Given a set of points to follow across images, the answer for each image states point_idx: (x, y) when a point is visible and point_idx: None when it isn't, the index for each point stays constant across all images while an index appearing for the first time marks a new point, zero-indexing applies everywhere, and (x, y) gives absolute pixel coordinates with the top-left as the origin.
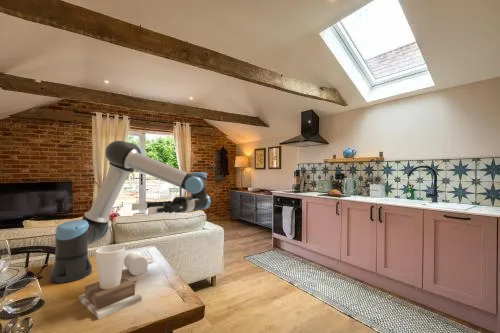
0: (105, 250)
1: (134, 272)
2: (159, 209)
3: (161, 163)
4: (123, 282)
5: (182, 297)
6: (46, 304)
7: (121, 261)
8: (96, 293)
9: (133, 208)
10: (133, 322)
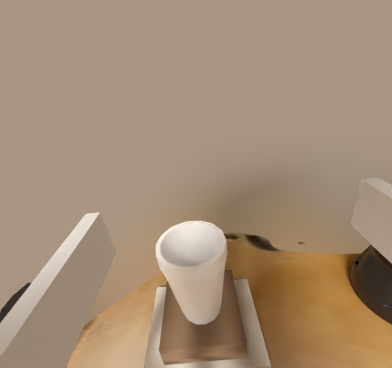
0: (220, 245)
1: None
2: (18, 297)
3: None
4: (190, 330)
5: None
6: (261, 251)
7: (168, 281)
8: None
9: (359, 216)
10: (99, 329)
